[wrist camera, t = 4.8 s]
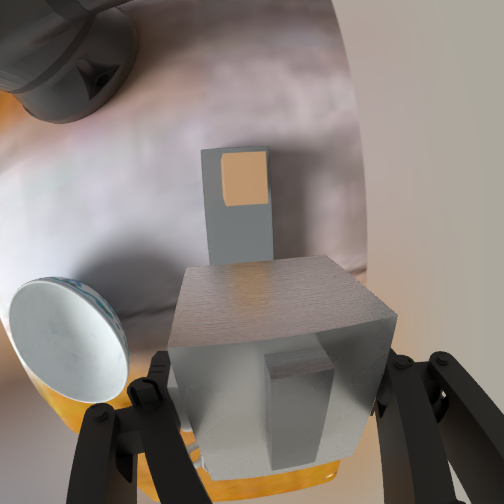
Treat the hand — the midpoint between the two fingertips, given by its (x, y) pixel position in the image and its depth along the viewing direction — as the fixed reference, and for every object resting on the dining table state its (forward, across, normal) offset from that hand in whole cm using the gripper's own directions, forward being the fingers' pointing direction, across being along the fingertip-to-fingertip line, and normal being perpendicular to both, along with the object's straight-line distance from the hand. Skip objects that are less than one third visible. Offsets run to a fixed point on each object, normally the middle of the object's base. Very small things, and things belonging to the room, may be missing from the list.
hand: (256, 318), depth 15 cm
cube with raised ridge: (-2, 0, 0) cm, 2 cm away
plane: (+14, 0, -1) cm, 14 cm away
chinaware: (+14, -19, -7) cm, 25 cm away
